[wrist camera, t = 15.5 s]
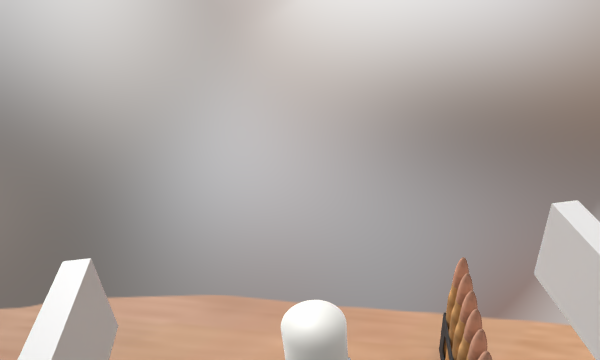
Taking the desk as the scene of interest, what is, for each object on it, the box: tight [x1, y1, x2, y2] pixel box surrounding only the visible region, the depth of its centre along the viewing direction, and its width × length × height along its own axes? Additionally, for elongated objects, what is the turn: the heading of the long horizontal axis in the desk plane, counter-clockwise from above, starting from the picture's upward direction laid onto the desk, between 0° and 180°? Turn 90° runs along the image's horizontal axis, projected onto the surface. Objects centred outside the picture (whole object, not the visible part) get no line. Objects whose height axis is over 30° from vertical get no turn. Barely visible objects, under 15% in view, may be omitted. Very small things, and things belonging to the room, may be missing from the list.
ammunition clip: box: [439, 257, 492, 360], centre depth 37 cm, size 11×2×12 cm, turn 174°
